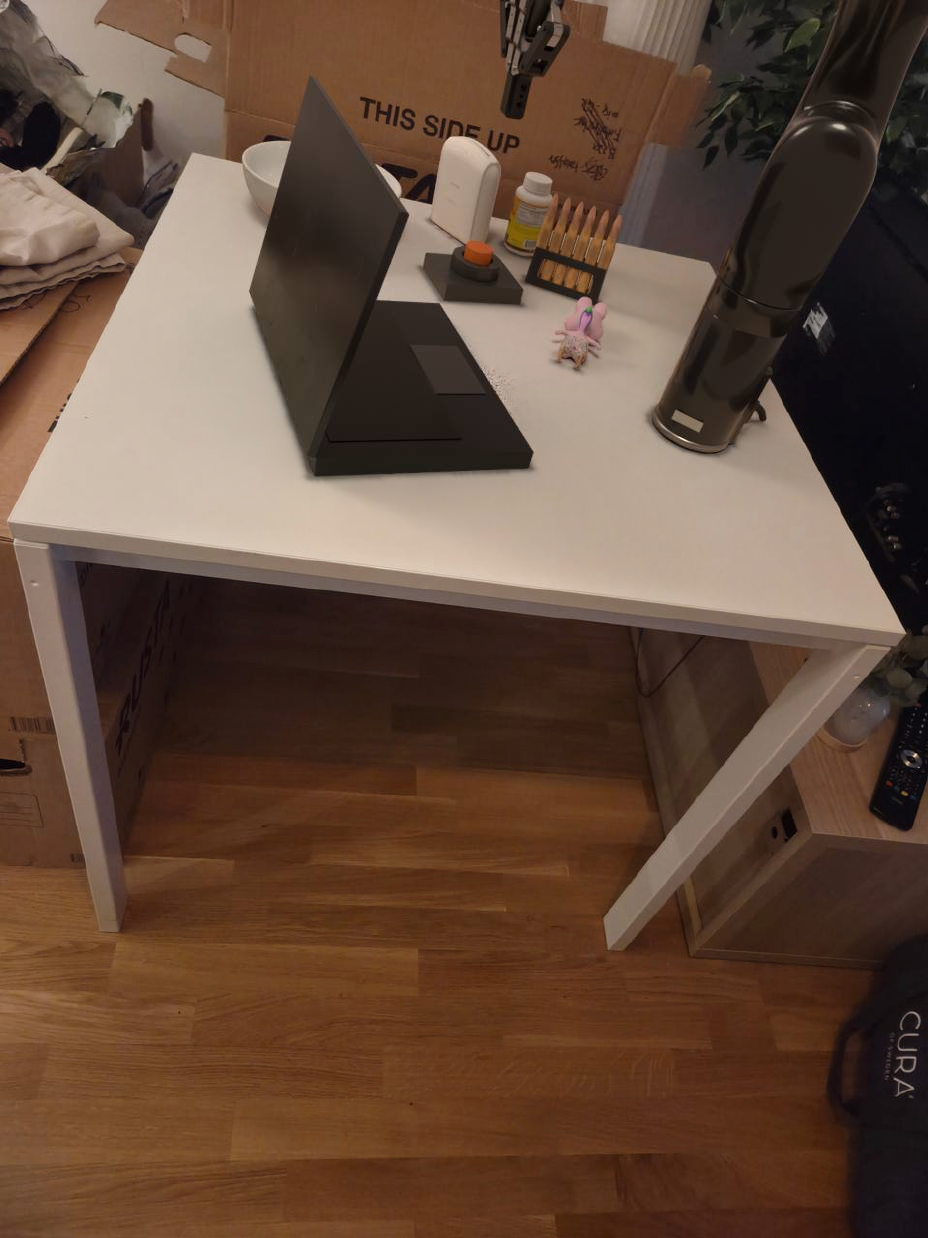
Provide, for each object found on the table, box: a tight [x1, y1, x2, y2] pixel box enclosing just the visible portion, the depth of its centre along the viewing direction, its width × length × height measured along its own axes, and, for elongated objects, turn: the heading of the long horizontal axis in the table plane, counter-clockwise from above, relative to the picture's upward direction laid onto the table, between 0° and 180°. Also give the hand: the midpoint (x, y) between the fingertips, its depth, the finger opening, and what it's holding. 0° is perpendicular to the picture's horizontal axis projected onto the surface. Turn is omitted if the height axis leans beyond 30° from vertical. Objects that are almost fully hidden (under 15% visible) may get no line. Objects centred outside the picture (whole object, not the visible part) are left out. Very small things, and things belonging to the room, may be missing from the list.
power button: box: [464, 241, 494, 265], centre depth 103 cm, size 4×4×2 cm
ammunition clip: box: [524, 192, 623, 307], centre depth 107 cm, size 11×2×12 cm, turn 76°
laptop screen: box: [248, 75, 410, 458], centre depth 72 cm, size 22×30×1 cm
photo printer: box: [430, 135, 502, 245], centre depth 113 cm, size 10×4×12 cm, turn 39°
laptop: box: [307, 299, 535, 477], centre depth 84 cm, size 22×30×2 cm
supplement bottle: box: [503, 171, 554, 257], centre depth 115 cm, size 6×6×10 cm
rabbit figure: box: [554, 297, 608, 371], centre depth 99 cm, size 6×6×15 cm
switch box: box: [422, 245, 524, 306], centre depth 104 cm, size 11×9×4 cm
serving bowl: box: [241, 140, 403, 217], centre depth 106 cm, size 21×21×7 cm
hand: (510, 115), depth 83 cm, fingers closed
